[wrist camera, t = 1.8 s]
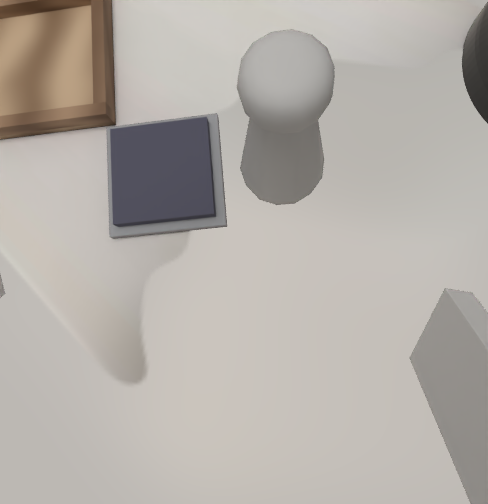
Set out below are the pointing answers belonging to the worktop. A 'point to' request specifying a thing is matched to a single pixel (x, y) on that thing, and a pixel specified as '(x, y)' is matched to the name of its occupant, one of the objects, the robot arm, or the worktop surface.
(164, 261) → the worktop surface
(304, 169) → the salt shaker
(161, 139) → the ink pad
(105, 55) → the tray
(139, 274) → the worktop surface
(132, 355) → the worktop surface
